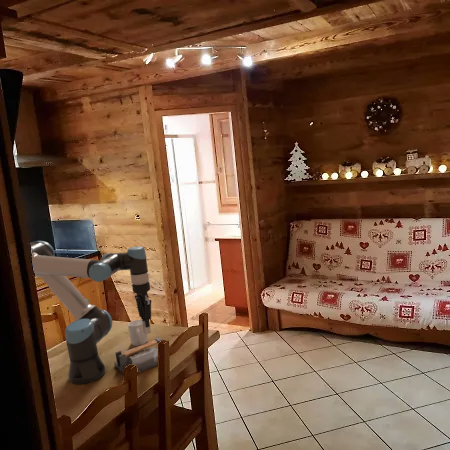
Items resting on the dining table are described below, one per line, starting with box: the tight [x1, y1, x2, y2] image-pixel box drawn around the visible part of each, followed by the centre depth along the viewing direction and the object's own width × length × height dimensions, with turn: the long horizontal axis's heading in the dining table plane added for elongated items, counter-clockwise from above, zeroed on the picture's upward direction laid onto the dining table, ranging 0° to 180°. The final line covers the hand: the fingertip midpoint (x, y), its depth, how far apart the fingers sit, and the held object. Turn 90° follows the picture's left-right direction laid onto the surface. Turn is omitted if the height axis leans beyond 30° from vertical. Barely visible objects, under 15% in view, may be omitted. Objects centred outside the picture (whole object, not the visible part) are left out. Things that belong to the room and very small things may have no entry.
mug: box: [127, 319, 149, 347], centre depth 218 cm, size 12×8×10 cm
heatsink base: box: [113, 337, 164, 375], centre depth 197 cm, size 21×14×8 cm
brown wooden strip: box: [118, 339, 158, 357], centre depth 196 cm, size 18×3×1 cm, turn 124°
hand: (147, 333), depth 198 cm, fingers closed
